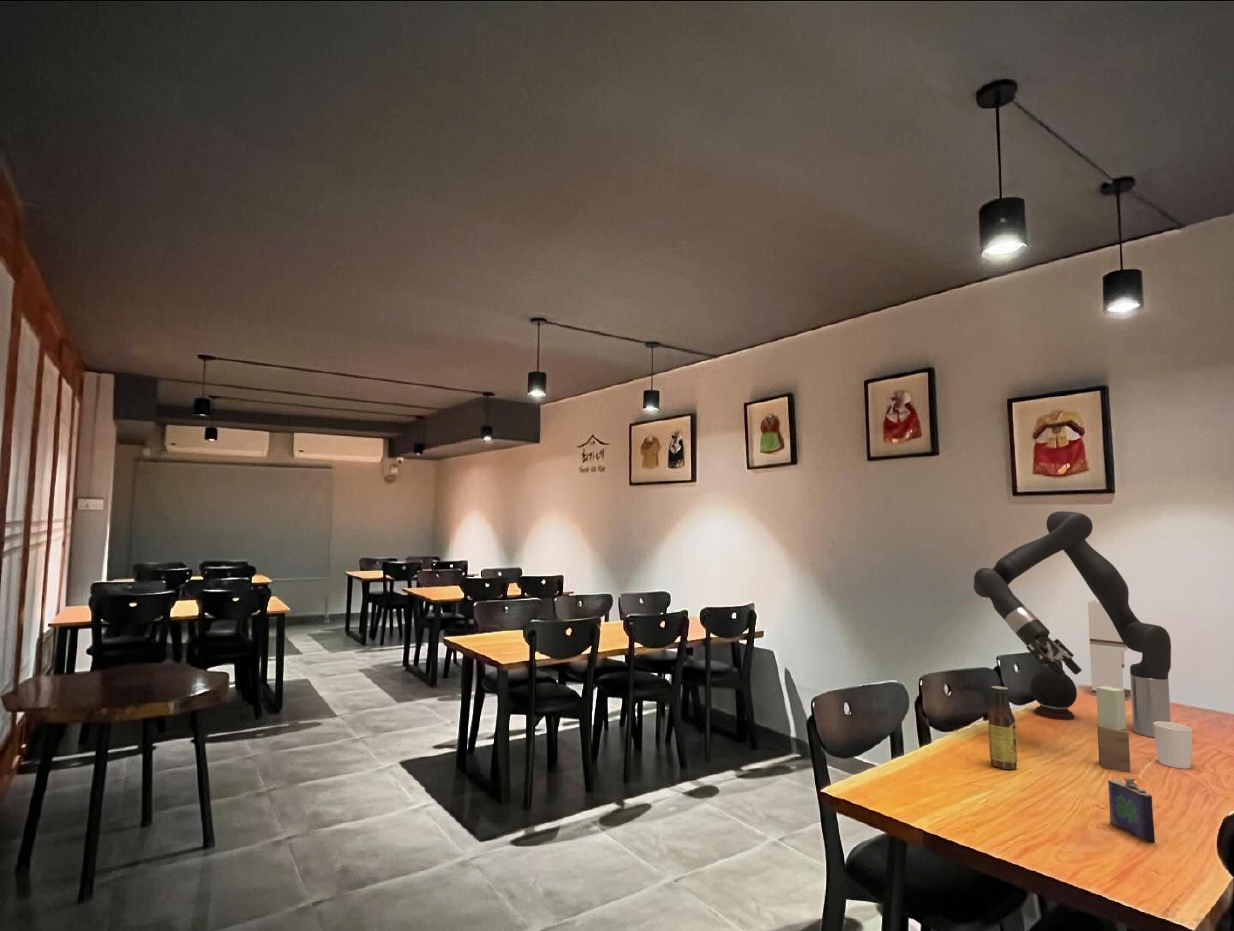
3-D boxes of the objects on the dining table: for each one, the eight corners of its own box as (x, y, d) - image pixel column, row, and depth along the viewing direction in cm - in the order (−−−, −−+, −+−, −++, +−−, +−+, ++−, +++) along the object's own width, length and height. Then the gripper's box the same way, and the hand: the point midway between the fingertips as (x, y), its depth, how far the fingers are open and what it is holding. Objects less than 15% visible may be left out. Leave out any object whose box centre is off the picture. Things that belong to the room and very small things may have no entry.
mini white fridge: (1127, 700, 244) (1122, 604, 248) (1092, 695, 252) (1087, 601, 255) (1130, 695, 253) (1126, 602, 256) (1096, 690, 260) (1092, 599, 263)
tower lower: (1099, 761, 178) (1098, 742, 178) (1127, 766, 175) (1126, 746, 175) (1101, 768, 173) (1100, 748, 173) (1130, 773, 170) (1129, 752, 170)
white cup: (1201, 771, 172) (1198, 731, 173) (1166, 768, 173) (1164, 728, 174) (1182, 760, 180) (1179, 722, 180) (1148, 758, 181) (1146, 720, 182)
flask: (1106, 822, 140) (1104, 770, 141) (1119, 822, 140) (1116, 769, 141) (1147, 843, 130) (1144, 787, 131) (1160, 843, 131) (1157, 786, 132)
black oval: (1071, 723, 214) (1069, 675, 215) (1025, 714, 223) (1024, 668, 225) (1082, 716, 222) (1080, 670, 224) (1038, 707, 232) (1036, 663, 233)
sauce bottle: (1021, 771, 169) (1018, 691, 171) (994, 769, 170) (992, 689, 172) (1011, 762, 175) (1009, 685, 177) (985, 760, 176) (983, 684, 178)
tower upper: (1098, 742, 178) (1097, 723, 179) (1125, 746, 175) (1125, 726, 176) (1100, 748, 173) (1099, 728, 173) (1129, 752, 170) (1128, 732, 170)
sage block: (1098, 726, 176) (1096, 687, 176) (1106, 724, 178) (1105, 686, 179) (1117, 731, 172) (1115, 691, 173) (1126, 728, 174) (1124, 689, 175)
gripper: (1021, 619, 189) (1067, 668, 178) (1049, 617, 196) (1094, 664, 185) (1003, 635, 193) (1047, 684, 182) (1031, 632, 200) (1074, 679, 190)
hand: (1070, 674), depth 184 cm, fingers open, 8 cm apart
